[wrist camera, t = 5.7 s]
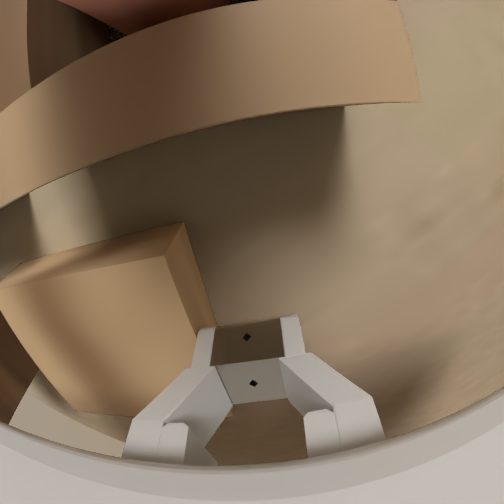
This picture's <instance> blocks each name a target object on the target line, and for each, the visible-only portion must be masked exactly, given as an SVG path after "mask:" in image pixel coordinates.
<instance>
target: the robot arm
mask: <svg viewBox="0 0 504 504" xmlns="http://www.w3.org/2000/svg"><path fill="white" fill-rule="evenodd" d="M284 398H287V399H288V400H289V402H290V403H291V404H292V405H293V406H294V407H295V408H296V409H297V410H298V411H299V412H300V414H301V415H302V416H303V419H304V427H305V436H306V445H307V454H308V458H305V459H298V460H291V461H283V462H274V463H263V464H249V465H220V466H218V462H217V461H216V460H215V459H214V458H213V456H212V455H211V454H210V453H209V452H208V451H207V449H206V448H205V446H206V444H207V443H208V442H209V440H210V439H211V437H212V436H213V435H214V433H215V432H216V430H217V429H218V427H219V426H220V425H221V423H222V422H223V420H224V419H225V417H226V416H227V414H228V413H229V411H230V410H231V408H232V407H233V404H242V403H250V402H257V401H267V400H276V399H284ZM0 504H504V386H503V387H502V388H500V389H499V390H497V391H495V392H494V393H492V394H490V395H488V396H487V397H485V398H483V399H481V400H479V401H477V402H476V403H474V404H472V405H470V406H468V407H466V408H464V409H462V410H460V411H458V412H456V413H453V414H451V415H449V416H447V417H445V418H442V419H440V420H438V421H435V422H433V423H431V424H428V425H426V426H423V427H421V428H418V429H415V430H413V431H410V432H407V433H404V434H402V435H399V436H396V437H393V438H389V439H386V438H385V435H384V431H383V428H382V425H381V422H380V419H379V416H378V413H377V410H376V407H375V404H374V401H373V398H372V396H370V395H369V394H368V393H366V392H365V391H363V390H362V389H361V388H359V387H358V386H356V385H355V384H354V383H352V382H351V381H349V380H348V379H347V378H345V377H344V376H342V375H341V374H340V373H338V372H337V371H336V370H334V369H333V368H331V367H330V366H329V365H327V364H326V363H325V362H323V361H322V360H321V359H319V358H318V357H317V356H315V355H314V354H313V353H306V351H305V346H304V341H303V336H302V331H301V326H300V322H299V317H298V315H297V314H293V315H288V316H283V317H280V318H275V319H269V320H263V321H257V322H251V323H242V324H234V325H225V326H217V327H209V328H201V329H200V330H199V331H198V335H197V339H196V344H195V349H194V353H193V358H192V363H191V368H187V369H185V370H184V371H183V372H182V373H181V374H180V375H179V376H178V377H177V378H176V379H174V380H173V381H172V382H171V383H170V384H169V385H168V386H167V387H166V388H165V389H164V390H163V391H162V392H161V393H160V394H159V395H158V396H157V397H156V398H155V399H154V400H153V401H152V402H150V403H149V404H148V405H147V406H146V407H145V408H144V409H143V410H142V411H141V412H140V413H139V414H138V415H137V416H136V417H134V418H133V419H132V423H131V426H130V429H129V433H128V436H127V440H126V443H125V447H124V450H123V454H122V458H120V457H114V456H108V455H104V454H99V453H95V452H90V451H86V450H82V449H78V448H74V447H70V446H67V445H64V444H60V443H57V442H54V441H50V440H47V439H44V438H41V437H38V436H36V435H33V434H30V433H28V432H25V431H22V430H20V429H17V428H15V427H12V426H10V425H8V424H6V423H3V422H1V421H0Z"/></svg>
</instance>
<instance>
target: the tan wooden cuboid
mask: <svg viewBox="0 0 504 504" xmlns="http://www.w3.org/2000/svg"><path fill="white" fill-rule="evenodd" d="M0 310H1V312H2V314H3V315H4V317H5V319H6V321H7V322H8V324H9V325H10V327H11V329H12V330H13V332H14V333H15V335H16V336H17V338H18V339H19V341H20V342H21V344H22V345H23V347H24V348H25V350H26V351H27V352H28V354H29V355H30V357H31V358H32V359H33V361H34V362H35V363H36V365H37V366H38V367H39V369H40V370H41V371H42V372H43V374H44V375H45V376H46V378H47V379H48V380H49V381H50V382H51V384H52V385H53V386H54V387H55V388H56V390H57V391H58V392H59V393H60V394H61V395H62V396H63V398H64V399H65V400H66V401H67V402H68V403H69V404H70V405H71V406H72V407H73V408H74V410H77V411H83V412H90V413H97V414H105V415H114V416H125V417H136V416H137V415H138V414H139V413H140V412H141V411H142V410H143V409H144V408H145V407H146V406H147V405H148V404H149V403H150V402H152V401H153V400H154V399H155V398H156V397H157V396H158V395H159V394H160V393H161V392H162V391H163V390H164V389H165V388H166V387H167V386H168V385H169V384H170V383H171V382H172V381H173V380H174V379H176V378H177V377H178V376H179V375H180V374H181V373H182V372H183V371H184V370H185V369H187V368H191V363H192V358H193V353H194V349H195V344H196V339H197V335H198V331H199V330H200V329H201V328H209V327H217V326H218V325H217V322H216V320H215V317H214V314H213V311H212V308H211V305H210V302H209V299H208V296H207V293H206V290H205V287H204V284H203V281H202V278H201V275H200V272H199V269H198V266H197V263H196V259H195V256H194V253H193V250H192V247H191V243H190V240H189V237H188V234H187V230H186V227H185V223H184V222H180V223H176V224H171V225H167V226H162V227H158V228H153V229H149V230H145V231H141V232H136V233H132V234H128V235H124V236H120V237H116V238H112V239H108V240H104V241H100V242H96V243H92V244H88V245H84V246H80V247H77V248H73V249H69V250H66V251H62V252H58V253H55V254H51V255H48V256H44V257H41V258H37V259H34V260H30V261H27V262H24V263H21V264H19V265H18V266H17V267H16V268H15V269H14V270H13V271H11V272H10V273H9V274H8V275H7V276H6V277H5V278H4V279H3V280H2V281H1V282H0ZM227 417H234V404H233V407H232V408H231V410H230V411H229V413H228V414H227V416H226V417H225V418H227Z"/></svg>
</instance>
